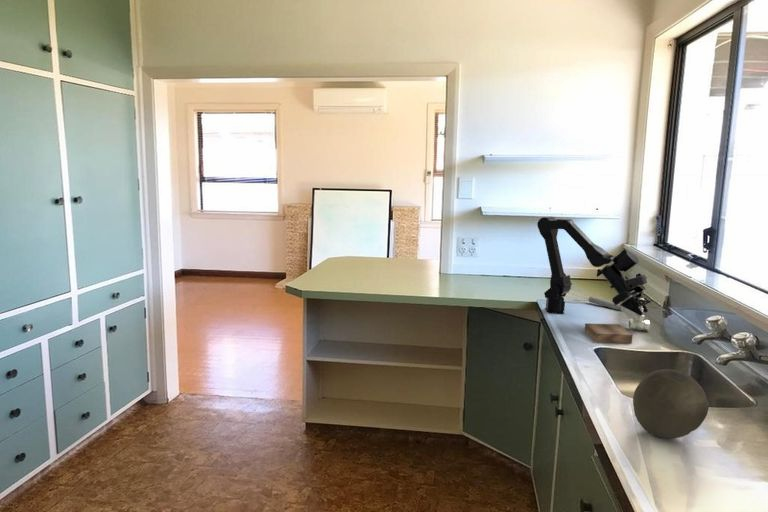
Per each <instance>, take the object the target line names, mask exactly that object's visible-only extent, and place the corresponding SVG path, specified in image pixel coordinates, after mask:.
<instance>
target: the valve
mask: <svg viewBox="0 0 768 512" xmlns="http://www.w3.org/2000/svg"><path fill="white" fill-rule="evenodd" d="M635 300H636V302H637V303H638V305H639V306H640V307H639V308H640V310H641V311H642V313H643V314H642V315H641V316H640V315H638V314H636V313H635V318H630V319H628V323H627V324H628V329H630V330H636V331H650V328H651V322H650V320H649V319H645V314H644V312H643V310H644V308H642V307H643V306H644V305H646V306H647V305H648V304H651V302H652V299H651V298H648V297H646V296H645V297H643V298H642V297H640V296H638V297H635Z"/></svg>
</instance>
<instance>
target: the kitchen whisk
mask: <svg viewBox="0 0 768 512" xmlns="http://www.w3.org/2000/svg"><path fill="white" fill-rule="evenodd" d="M576 289H577V290H576ZM571 290H573V291H576V292H578V293H580V294H582V295H579V294H575V293H574V292H570V291H569V292H568V293H567V294H569V295H572V296H574V297H575V296H576V297H575V298H574V300H573V301H577V302H578V301H579V302H580V298H582V299H584V302H585V301H586V302H587V301H588V302H589V303H590V304H591V303H592V304H595V305H598V306H602V307H605V308H609V309H612V310H616V311H621V312H622V311H623V310H624V308H625V307H623V306H620V304H621V303H619V304H618V305H616V306H615V304H614V303H613V302H612V301H609V300H607V299H603V298H599V297H596V296H592V295H591V296H589V295H588V294H587V293H585V292H584V291H582V290H580V289H579V288H577V287H574V286H572V285H571ZM577 296H578V297H577ZM565 297H566V298H568V296H567V295H566V296H565ZM565 297H564V298H565ZM569 298H570V299H572V298H573V297H571V296H569ZM626 311H629V309H627V308H626Z"/></svg>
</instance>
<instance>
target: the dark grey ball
mask: <svg viewBox="0 0 768 512" xmlns="http://www.w3.org/2000/svg"><path fill="white" fill-rule="evenodd" d="M632 405H633V411H634V416H635V418H636V421H637V422H638V423H639V425H640V426H641V428H642V429H643V430H645V432H646V433H649V434H650V435H652V436H654V437H657V438H659V439H660V438H662V439H666V440H667V439H668V440H669V439H670V440H671V439H679V438H683V437H685V436H687V435H689V434H690V433H692V432H694V431H696V430H697V429H698V428H700V426H701V425H702V424H703V422H704V421H705V419H706V417H707V416H708V413H709V407H710V403H709V401H708V398H707V395H706V393H705V390H704V389H703V387H702V386H701V385H700V384H699V383H698V382H697V380H696V379H694V378H693V377H691V376H690V375H689V374H687V373H685V372H684V371H681V370H677V369H669V368H668V369H667V368H666V369H658V370H654V371H652V372H650V373H649V374H646V375H645V376H644V377H643V378H642V379H641V381H640V382H639V383H638V385H637V386H636V388H635V390H634V392H633V396H632Z"/></svg>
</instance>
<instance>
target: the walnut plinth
mask: <svg viewBox="0 0 768 512" xmlns="http://www.w3.org/2000/svg"><path fill="white" fill-rule="evenodd" d="M584 332H585V334H587V335H588V336H589V337H590V339H592V340H593V341H594V342H595V343H613V344H615V343H617V344H632V343H633V334H632V333H631V332H629V331H628V330H627V329H625V328H624V327H623V326H621V324H617V323H615V324H614V323H611V324H610V323H584Z"/></svg>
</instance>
